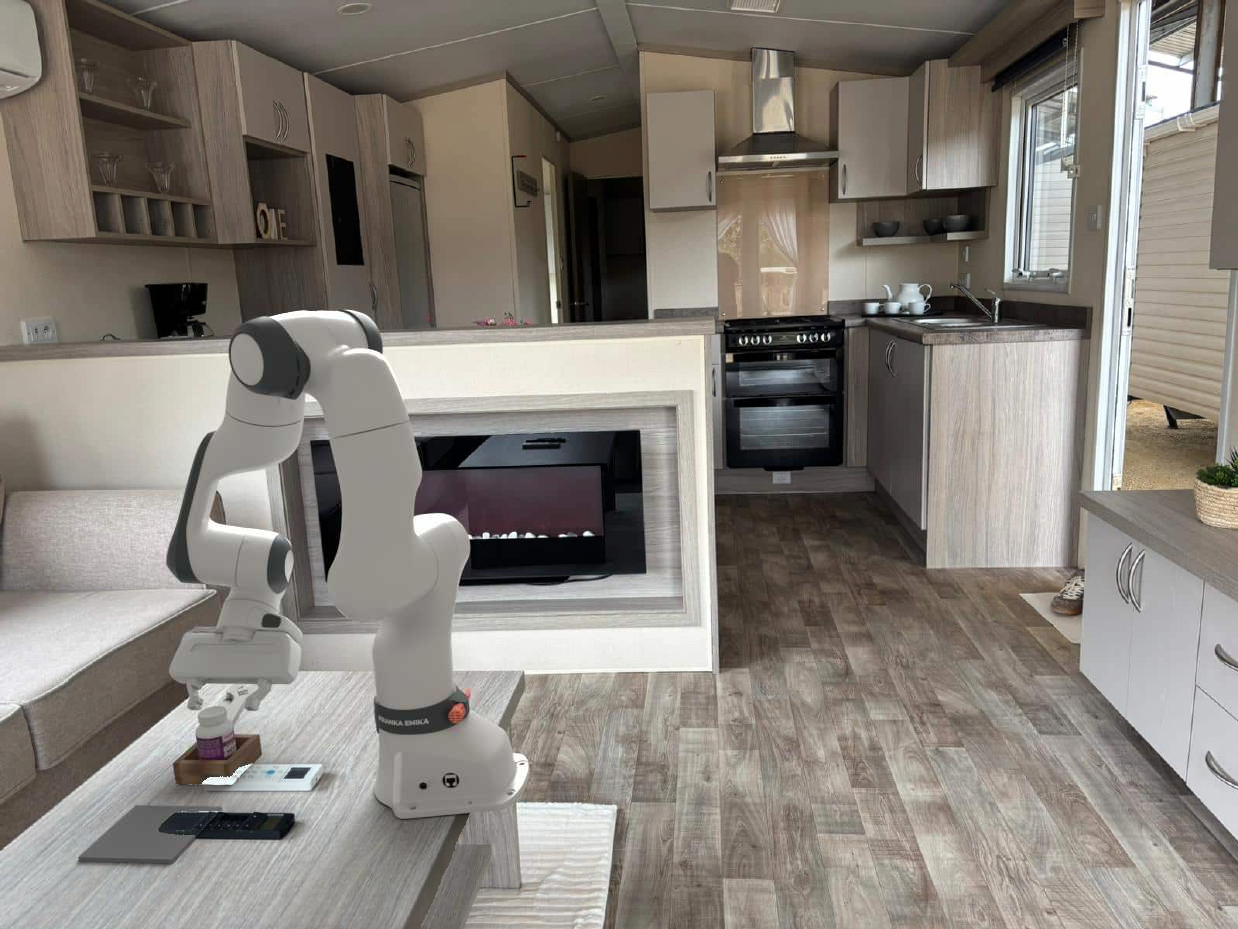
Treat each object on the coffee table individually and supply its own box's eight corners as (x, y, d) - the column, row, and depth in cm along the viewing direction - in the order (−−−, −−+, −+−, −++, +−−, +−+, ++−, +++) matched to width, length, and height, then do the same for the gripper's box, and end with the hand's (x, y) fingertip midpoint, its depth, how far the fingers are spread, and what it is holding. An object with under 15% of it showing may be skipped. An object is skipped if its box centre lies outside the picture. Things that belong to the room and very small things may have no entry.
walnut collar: (262, 754, 144) (259, 734, 143) (232, 785, 135) (229, 764, 134) (208, 754, 145) (205, 734, 144) (175, 784, 136) (172, 763, 135)
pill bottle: (235, 775, 138) (227, 716, 136) (197, 781, 137) (189, 722, 135) (241, 758, 143) (233, 701, 141) (205, 763, 142) (196, 706, 140)
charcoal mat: (222, 810, 128) (221, 806, 128) (172, 863, 117) (171, 859, 116) (136, 809, 130) (135, 805, 130) (78, 861, 118) (78, 857, 118)
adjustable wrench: (219, 753, 146) (217, 743, 146) (179, 755, 146) (177, 745, 146) (272, 685, 170) (271, 676, 170) (238, 687, 170) (237, 678, 170)
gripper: (177, 618, 147) (148, 702, 139) (297, 618, 145) (275, 703, 137) (196, 634, 152) (169, 715, 145) (312, 634, 150) (291, 717, 142)
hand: (222, 709), depth 141 cm, fingers open, 8 cm apart
